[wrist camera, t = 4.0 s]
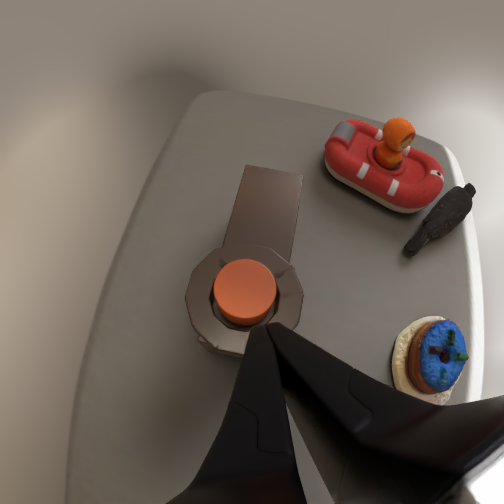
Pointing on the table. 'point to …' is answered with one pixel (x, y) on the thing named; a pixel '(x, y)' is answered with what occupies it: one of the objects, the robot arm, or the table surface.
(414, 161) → the toy boat
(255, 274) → the button
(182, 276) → the table surface
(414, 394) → the dessert
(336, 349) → the table surface
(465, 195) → the bird model
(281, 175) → the brown button base
